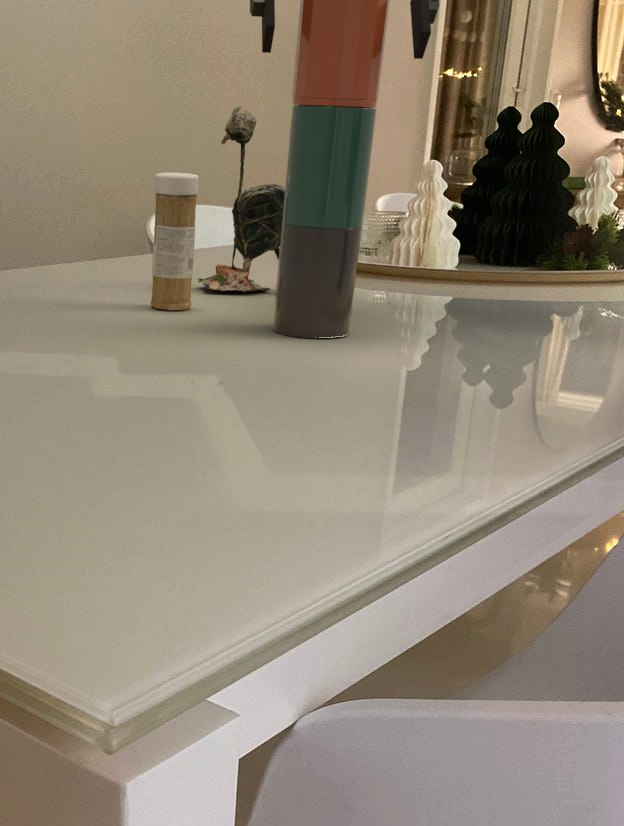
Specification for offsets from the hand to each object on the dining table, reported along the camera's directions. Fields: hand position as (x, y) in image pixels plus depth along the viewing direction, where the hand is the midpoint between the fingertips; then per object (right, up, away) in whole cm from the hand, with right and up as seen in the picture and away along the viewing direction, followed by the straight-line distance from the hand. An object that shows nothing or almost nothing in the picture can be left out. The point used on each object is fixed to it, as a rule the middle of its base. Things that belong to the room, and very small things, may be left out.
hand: (345, 43), depth 91 cm
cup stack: (-1, -21, +13) cm, 25 cm away
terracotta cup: (0, -3, +4) cm, 5 cm away
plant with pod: (-6, -10, +36) cm, 38 cm away
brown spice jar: (-15, -16, +23) cm, 32 cm away
